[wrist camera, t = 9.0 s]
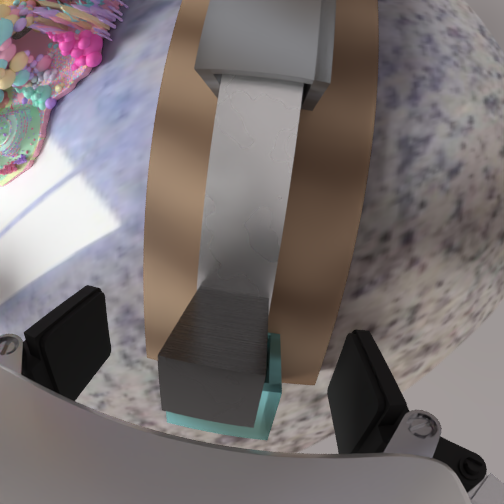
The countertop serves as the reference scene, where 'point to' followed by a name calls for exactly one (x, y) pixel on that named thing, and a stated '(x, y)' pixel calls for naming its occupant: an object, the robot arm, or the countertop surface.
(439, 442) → the robot arm
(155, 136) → the tube rig
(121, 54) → the countertop surface
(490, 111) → the countertop surface
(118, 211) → the countertop surface
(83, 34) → the candy landscape model
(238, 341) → the inner tube
